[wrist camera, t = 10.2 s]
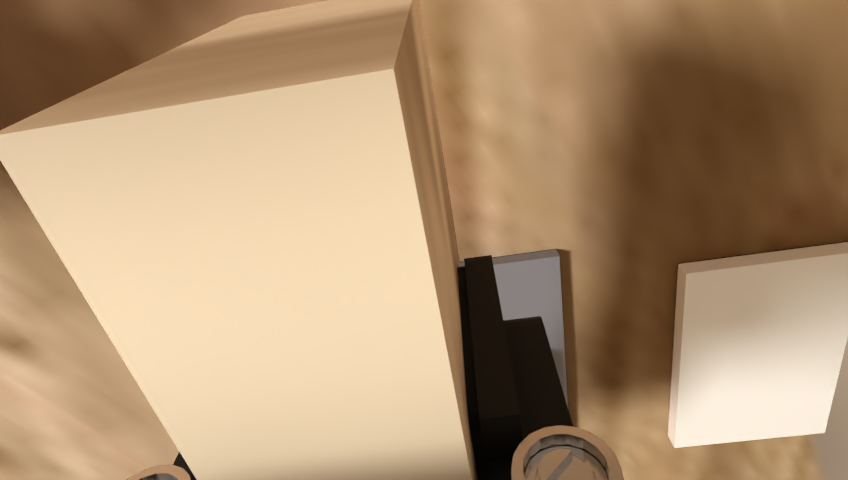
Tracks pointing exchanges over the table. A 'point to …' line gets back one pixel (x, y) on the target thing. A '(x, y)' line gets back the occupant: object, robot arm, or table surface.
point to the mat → (534, 296)
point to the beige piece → (270, 242)
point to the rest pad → (758, 345)
